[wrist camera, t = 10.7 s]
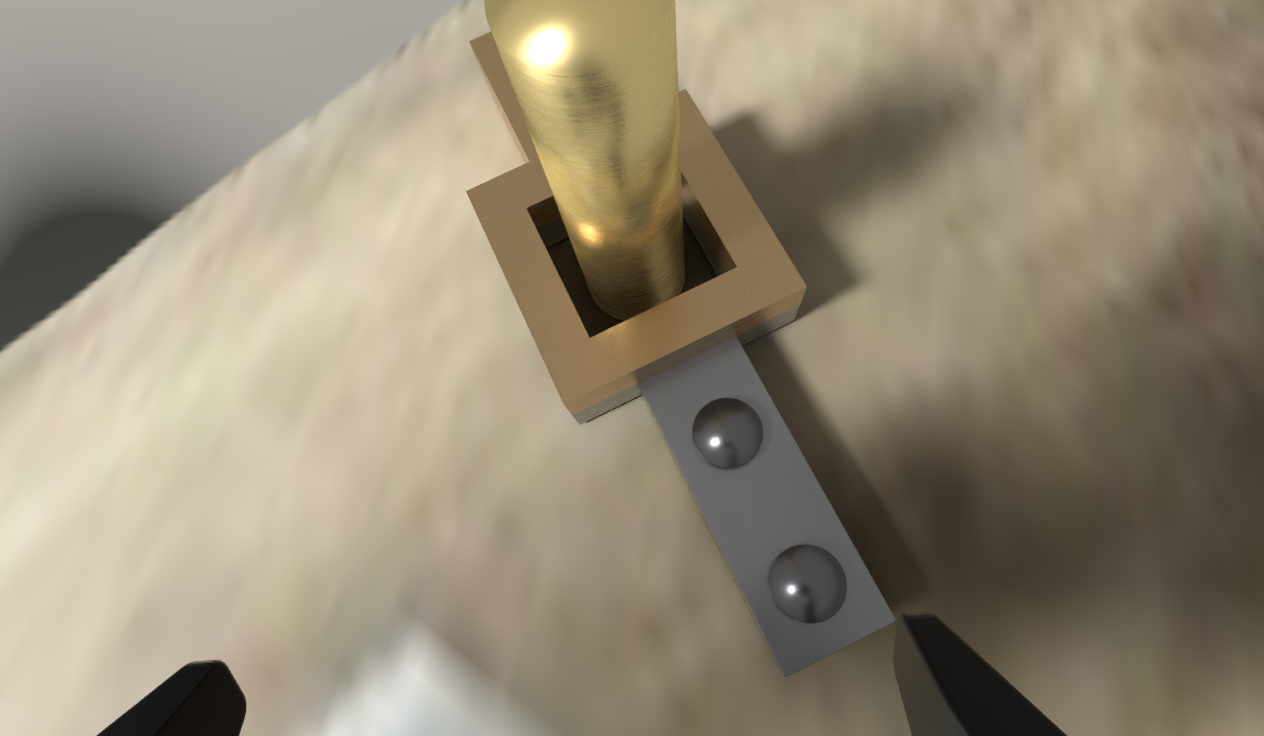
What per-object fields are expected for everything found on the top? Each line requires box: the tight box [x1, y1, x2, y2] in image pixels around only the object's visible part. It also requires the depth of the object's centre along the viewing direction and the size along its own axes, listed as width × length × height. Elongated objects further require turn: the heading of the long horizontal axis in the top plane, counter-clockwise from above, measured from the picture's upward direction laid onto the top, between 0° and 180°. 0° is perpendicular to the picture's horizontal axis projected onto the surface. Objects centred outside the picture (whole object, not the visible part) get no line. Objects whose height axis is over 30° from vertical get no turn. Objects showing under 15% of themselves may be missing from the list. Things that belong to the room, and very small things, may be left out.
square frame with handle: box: [466, 32, 896, 677], centre depth 23 cm, size 24×8×3 cm, turn 25°
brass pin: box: [484, 0, 685, 321], centre depth 19 cm, size 4×4×13 cm
